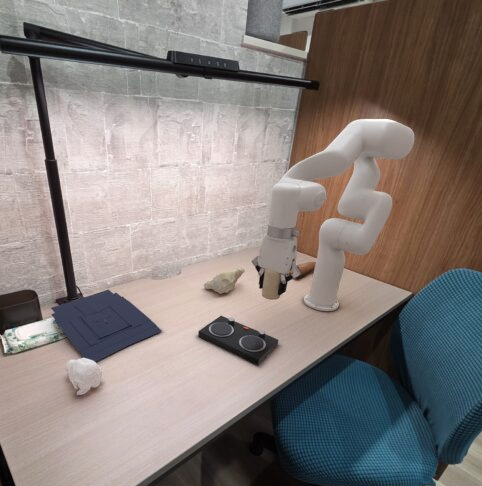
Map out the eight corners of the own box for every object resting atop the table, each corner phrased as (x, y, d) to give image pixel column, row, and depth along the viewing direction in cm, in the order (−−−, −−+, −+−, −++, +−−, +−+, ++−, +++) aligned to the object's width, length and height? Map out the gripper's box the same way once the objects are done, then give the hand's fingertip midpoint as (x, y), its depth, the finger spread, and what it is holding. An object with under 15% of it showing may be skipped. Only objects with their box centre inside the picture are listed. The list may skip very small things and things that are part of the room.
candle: (268, 289, 99) (273, 260, 94) (283, 296, 96) (288, 265, 91) (257, 295, 96) (261, 264, 91) (273, 301, 92) (277, 270, 87)
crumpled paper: (75, 372, 69) (52, 352, 76) (83, 403, 72) (60, 380, 80) (101, 359, 73) (77, 341, 80) (107, 388, 76) (84, 368, 84)
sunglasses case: (302, 263, 152) (311, 254, 147) (312, 274, 150) (322, 265, 145) (282, 273, 141) (290, 264, 136) (292, 285, 139) (301, 276, 134)
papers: (113, 294, 117) (113, 285, 115) (162, 337, 100) (163, 328, 98) (45, 316, 102) (44, 307, 100) (90, 371, 85) (89, 362, 83)
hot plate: (220, 320, 106) (221, 312, 104) (277, 345, 95) (279, 336, 93) (198, 336, 97) (198, 327, 96) (258, 365, 86) (259, 356, 84)
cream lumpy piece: (204, 302, 121) (236, 285, 113) (197, 285, 121) (228, 266, 114) (222, 298, 134) (252, 282, 126) (215, 283, 135) (244, 266, 127)
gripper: (316, 235, 84) (303, 294, 93) (259, 222, 93) (253, 278, 102) (305, 241, 79) (293, 304, 88) (246, 228, 88) (240, 286, 97)
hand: (271, 289), depth 95 cm, fingers closed on candle, 5 cm apart
